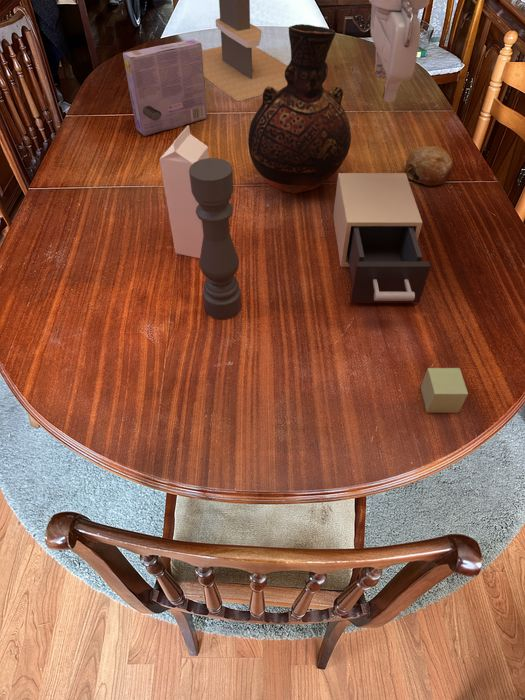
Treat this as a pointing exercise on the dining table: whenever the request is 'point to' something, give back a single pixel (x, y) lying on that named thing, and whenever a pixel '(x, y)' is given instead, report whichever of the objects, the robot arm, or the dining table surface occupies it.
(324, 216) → the dining table surface
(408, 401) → the dining table surface
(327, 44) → the ceramic vessel
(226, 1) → the architectural model
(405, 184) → the drawer cabinet
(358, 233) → the dark grey drawer
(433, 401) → the block
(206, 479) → the dining table surface
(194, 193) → the candle holder
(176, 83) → the cake pan box
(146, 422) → the dining table surface
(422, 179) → the brown mottled round lump
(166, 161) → the milk
